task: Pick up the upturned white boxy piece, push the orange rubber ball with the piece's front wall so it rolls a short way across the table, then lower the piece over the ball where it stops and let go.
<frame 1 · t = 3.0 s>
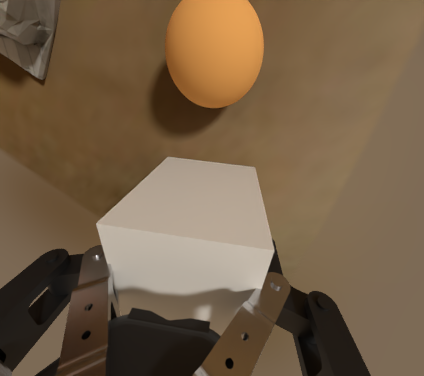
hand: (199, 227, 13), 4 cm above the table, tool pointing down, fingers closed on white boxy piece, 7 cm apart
white boxy piece: (207, 199, 17), on the table, touching gripper
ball: (214, 56, 10), on the table
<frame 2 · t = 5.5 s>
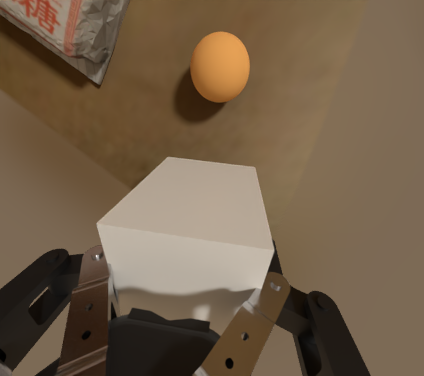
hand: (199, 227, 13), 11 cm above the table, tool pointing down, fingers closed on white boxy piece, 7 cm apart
white boxy piece: (207, 199, 17), point 7 cm above the table, touching gripper
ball: (219, 70, 16), on the table
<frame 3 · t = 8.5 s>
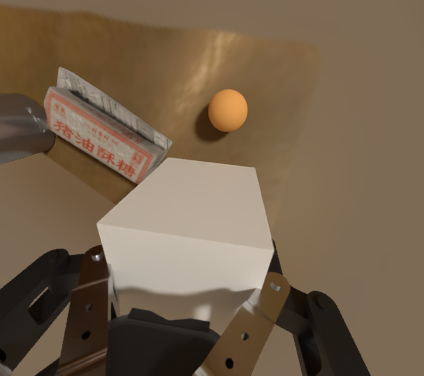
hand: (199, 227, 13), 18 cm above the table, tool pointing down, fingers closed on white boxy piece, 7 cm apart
packaged product: (115, 132, 30), on the table
white boxy piece: (207, 199, 17), point 14 cm above the table, touching gripper
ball: (227, 111, 23), on the table
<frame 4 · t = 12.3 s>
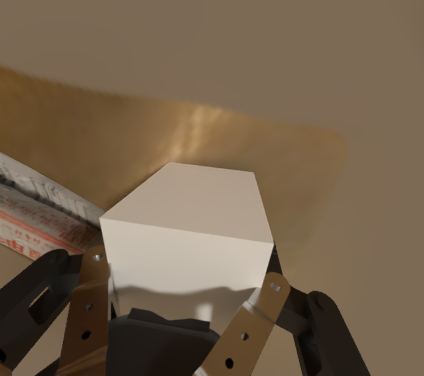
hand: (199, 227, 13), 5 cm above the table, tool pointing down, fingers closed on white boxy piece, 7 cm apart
packaged product: (62, 213, 22), on the table
white boxy piece: (207, 204, 17), point 1 cm above the table, touching gripper
when the fingers open (4 cm above the table, at t = 13.2 s): white boxy piece stays where it is, on the table.
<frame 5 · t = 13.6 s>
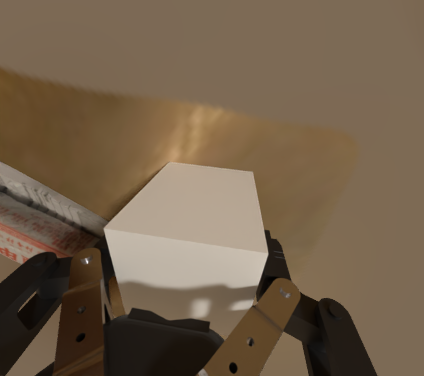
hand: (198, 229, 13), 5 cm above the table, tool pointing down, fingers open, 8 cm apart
packaged product: (57, 218, 22), on the table
white boxy piece: (207, 202, 17), on the table
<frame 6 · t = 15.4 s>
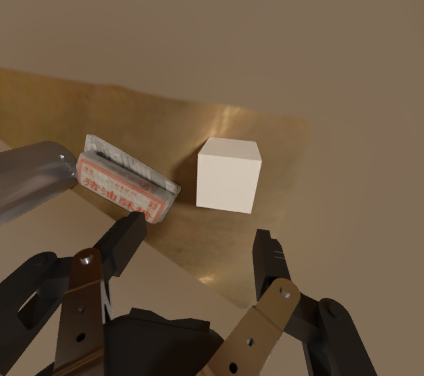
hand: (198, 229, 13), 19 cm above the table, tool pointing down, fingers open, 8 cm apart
packaged product: (132, 179, 35), on the table
white boxy piece: (229, 161, 30), on the table
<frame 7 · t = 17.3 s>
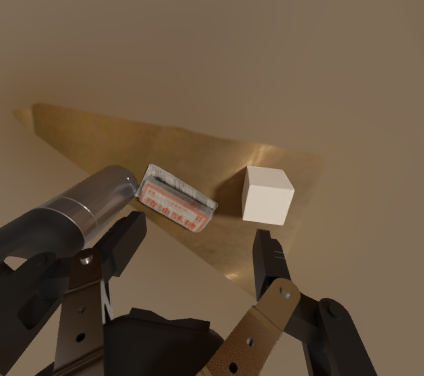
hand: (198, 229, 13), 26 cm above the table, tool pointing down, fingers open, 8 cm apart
packaged product: (178, 197, 44), on the table
white boxy piece: (261, 183, 39), on the table
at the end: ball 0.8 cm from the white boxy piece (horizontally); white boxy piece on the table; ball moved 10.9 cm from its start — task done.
